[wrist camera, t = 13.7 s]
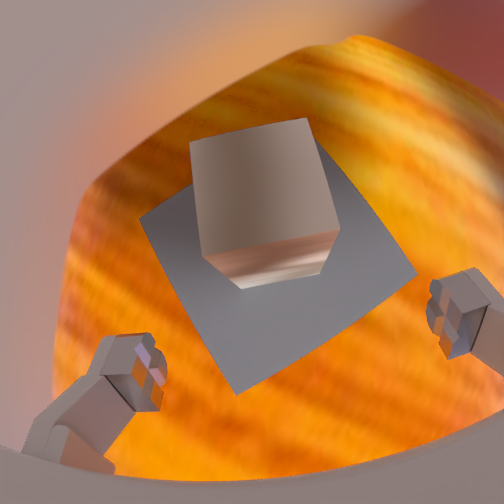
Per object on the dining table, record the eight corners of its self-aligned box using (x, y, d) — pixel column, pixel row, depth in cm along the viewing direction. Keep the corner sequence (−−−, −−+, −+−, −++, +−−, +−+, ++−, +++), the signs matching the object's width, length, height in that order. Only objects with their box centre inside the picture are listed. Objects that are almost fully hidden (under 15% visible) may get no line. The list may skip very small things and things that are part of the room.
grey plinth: (299, 148, 26) (299, 121, 22) (399, 283, 23) (417, 274, 19) (159, 234, 26) (138, 218, 22) (245, 385, 22) (236, 395, 18)
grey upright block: (302, 200, 21) (306, 117, 12) (319, 273, 20) (340, 228, 11) (228, 215, 21) (189, 142, 13) (241, 289, 20) (201, 256, 11)
